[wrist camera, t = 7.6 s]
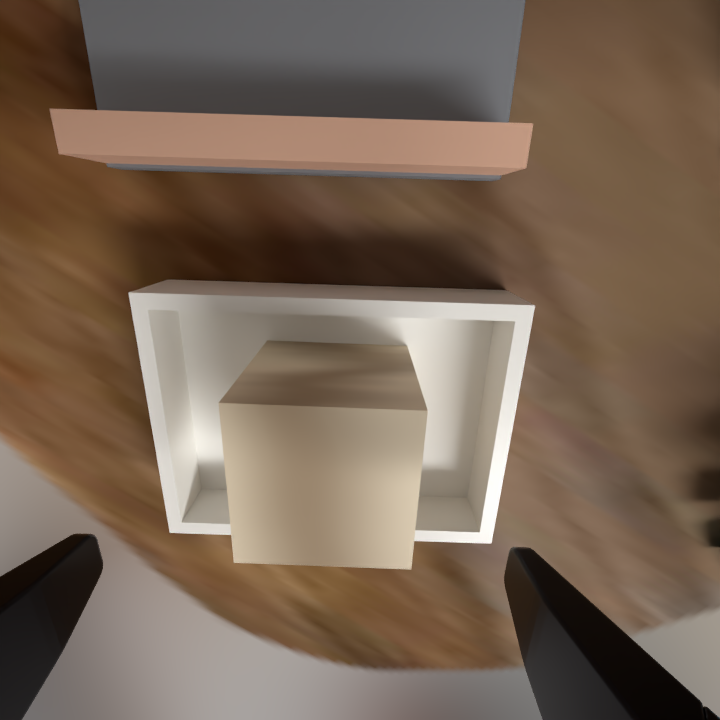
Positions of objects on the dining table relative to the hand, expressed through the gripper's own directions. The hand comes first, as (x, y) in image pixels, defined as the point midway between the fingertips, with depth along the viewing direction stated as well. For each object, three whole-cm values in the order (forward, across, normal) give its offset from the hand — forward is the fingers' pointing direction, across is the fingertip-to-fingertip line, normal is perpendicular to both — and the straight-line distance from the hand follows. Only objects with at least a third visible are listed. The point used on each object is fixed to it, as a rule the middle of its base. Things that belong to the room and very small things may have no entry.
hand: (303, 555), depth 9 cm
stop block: (+7, 0, 0) cm, 7 cm away
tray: (+8, 0, 0) cm, 8 cm away
